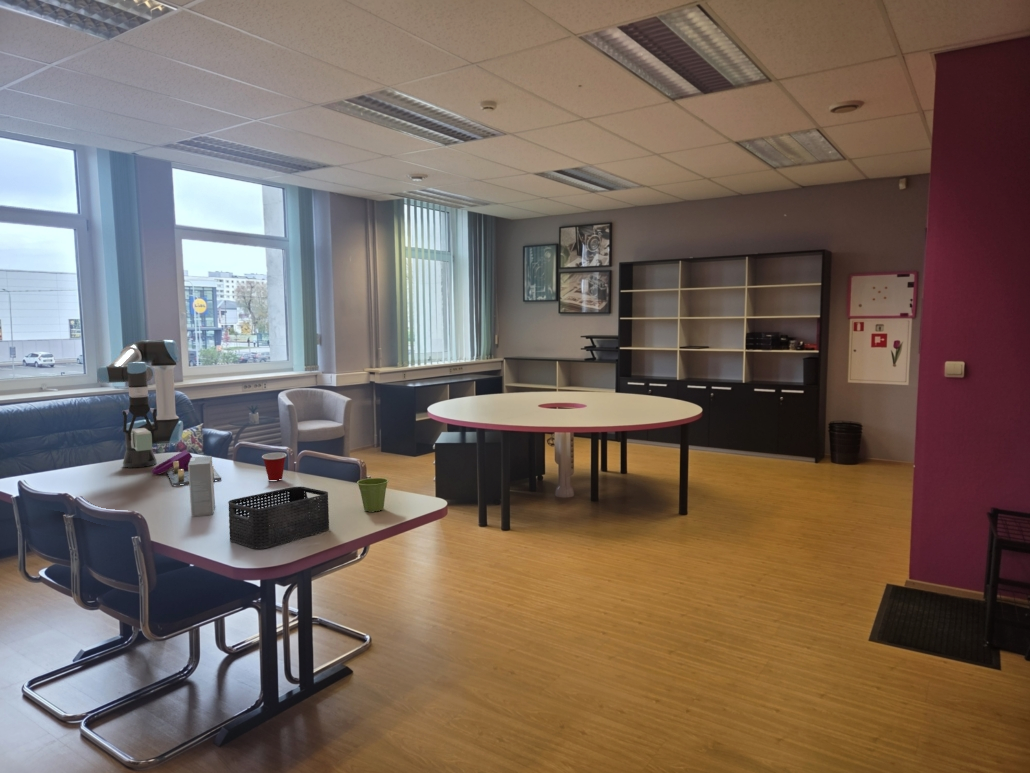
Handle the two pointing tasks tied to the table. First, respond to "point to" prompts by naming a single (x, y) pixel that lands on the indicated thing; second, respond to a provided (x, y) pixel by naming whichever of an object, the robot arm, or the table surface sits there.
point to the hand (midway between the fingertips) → (141, 446)
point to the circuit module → (142, 439)
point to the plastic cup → (274, 465)
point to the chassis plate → (184, 475)
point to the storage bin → (278, 517)
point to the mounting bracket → (181, 457)
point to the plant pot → (373, 493)
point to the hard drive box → (201, 486)
